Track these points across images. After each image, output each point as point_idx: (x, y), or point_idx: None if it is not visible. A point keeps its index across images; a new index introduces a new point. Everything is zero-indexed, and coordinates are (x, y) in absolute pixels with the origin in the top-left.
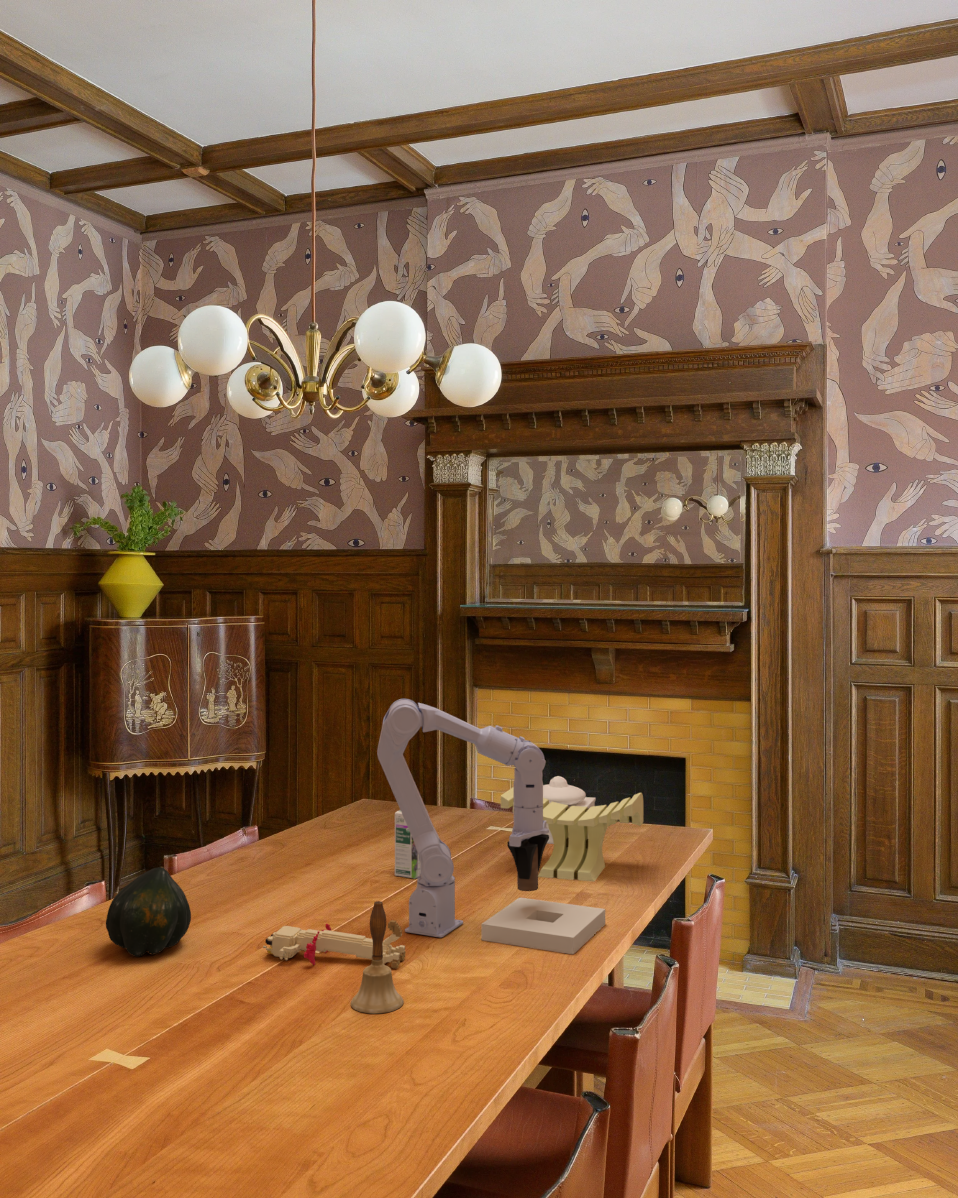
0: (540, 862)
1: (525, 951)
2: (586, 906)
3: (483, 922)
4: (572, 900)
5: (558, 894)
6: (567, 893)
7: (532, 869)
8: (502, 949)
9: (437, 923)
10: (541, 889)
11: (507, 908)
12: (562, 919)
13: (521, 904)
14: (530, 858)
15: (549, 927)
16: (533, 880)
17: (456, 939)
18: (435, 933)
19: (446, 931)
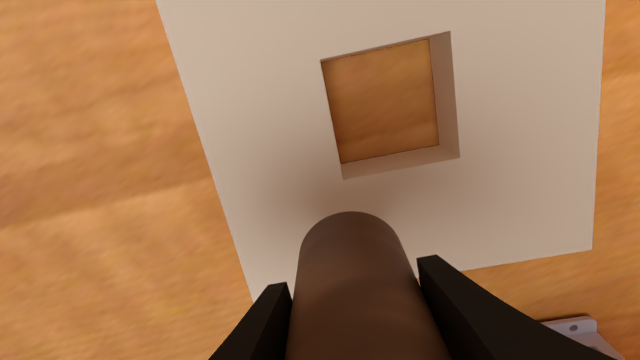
0: (248, 321)
1: None
2: (166, 32)
3: (574, 252)
4: (46, 210)
5: (37, 274)
6: (6, 259)
7: (402, 289)
8: (605, 125)
9: (618, 358)
10: (44, 334)
11: None
12: (389, 20)
13: None
14: (587, 346)
15: (519, 5)
16: (381, 242)
17: (574, 281)
18: (600, 337)
19: (558, 327)
